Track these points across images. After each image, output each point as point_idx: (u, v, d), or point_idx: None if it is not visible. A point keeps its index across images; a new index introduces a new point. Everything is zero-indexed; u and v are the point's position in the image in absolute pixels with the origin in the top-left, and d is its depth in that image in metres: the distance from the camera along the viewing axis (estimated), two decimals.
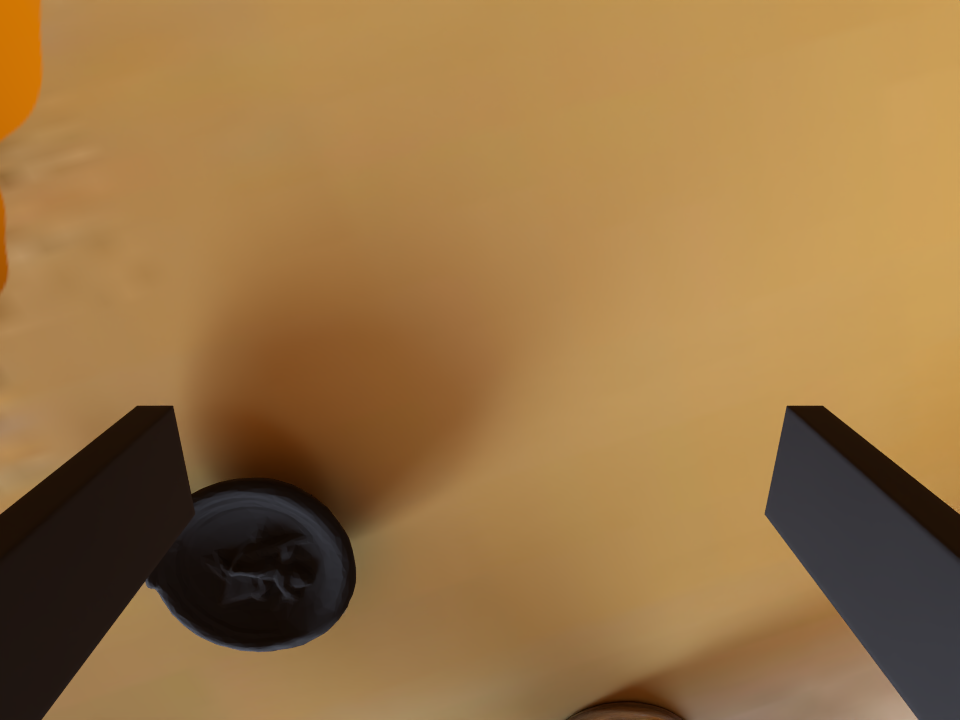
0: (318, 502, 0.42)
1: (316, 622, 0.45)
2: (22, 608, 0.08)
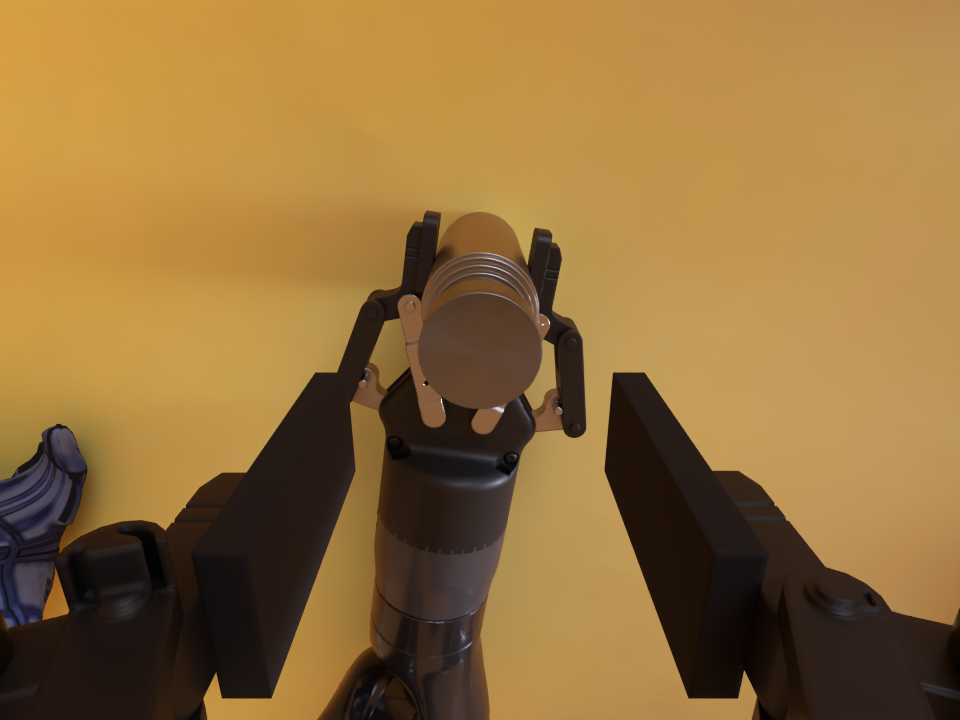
0: None
1: None
2: (292, 526, 0.10)
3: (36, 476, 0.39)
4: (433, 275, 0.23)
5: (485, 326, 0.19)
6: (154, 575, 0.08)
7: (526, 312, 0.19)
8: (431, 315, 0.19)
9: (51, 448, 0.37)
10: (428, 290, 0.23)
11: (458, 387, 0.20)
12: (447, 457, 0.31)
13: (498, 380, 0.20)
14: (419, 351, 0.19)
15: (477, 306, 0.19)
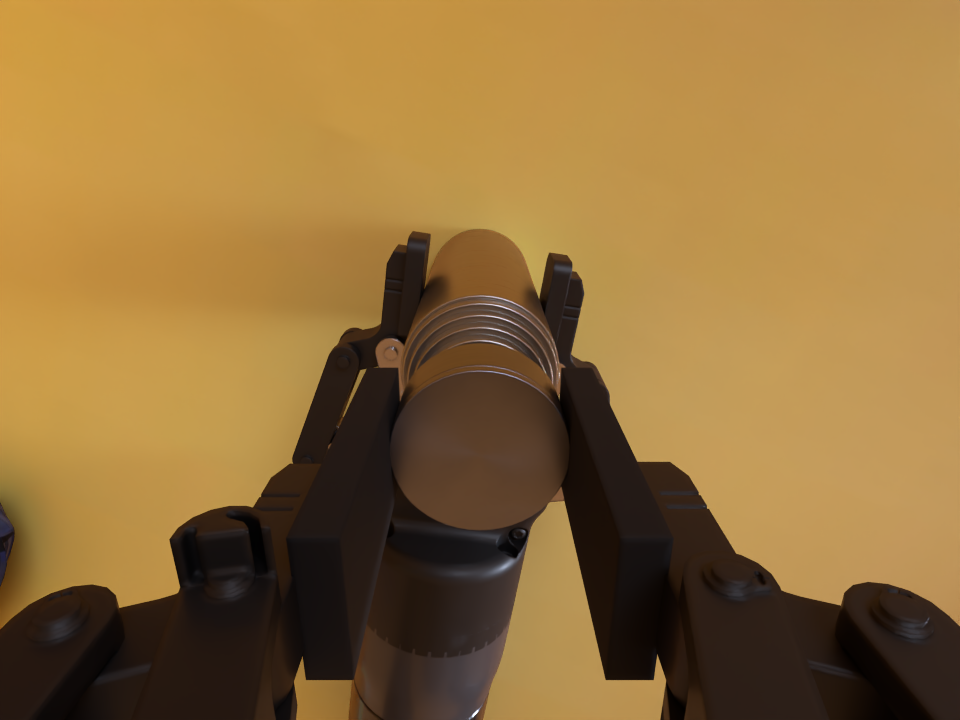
0: None
1: None
2: (366, 515, 0.10)
3: None
4: (416, 326, 0.17)
5: (487, 418, 0.13)
6: (256, 560, 0.08)
7: (548, 398, 0.13)
8: (408, 402, 0.13)
9: None
10: (409, 347, 0.17)
11: (448, 501, 0.14)
12: (440, 535, 0.25)
13: (506, 492, 0.13)
14: (391, 452, 0.13)
15: (476, 390, 0.13)
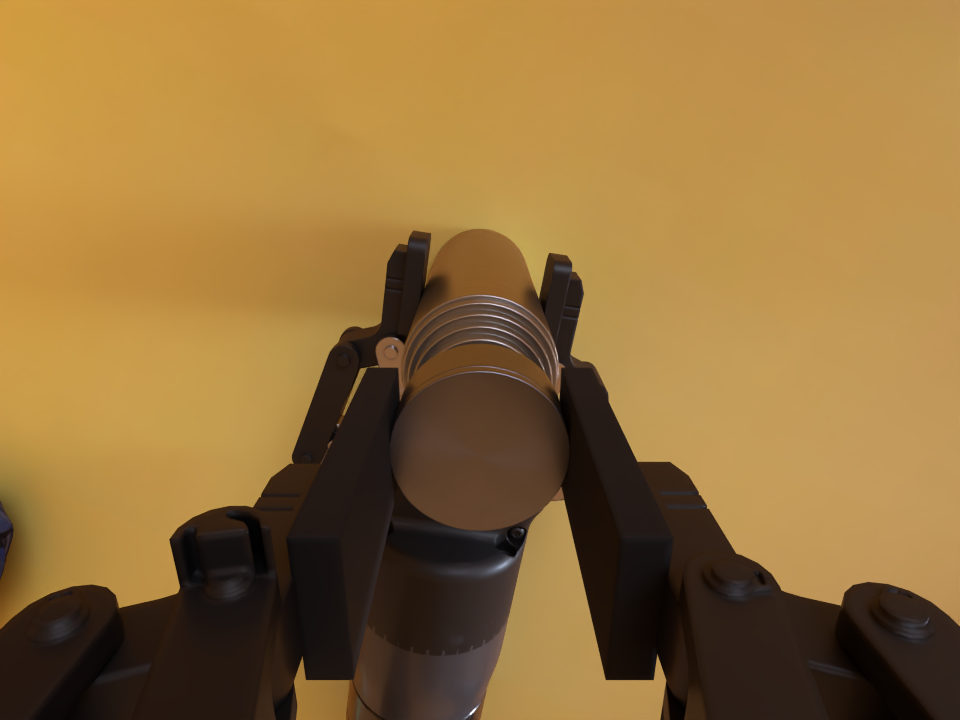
0: None
1: None
2: (366, 515, 0.10)
3: None
4: (417, 325, 0.17)
5: (438, 448, 0.13)
6: (256, 560, 0.08)
7: (416, 393, 0.13)
8: (424, 512, 0.14)
9: None
10: (410, 346, 0.17)
11: (533, 483, 0.13)
12: (438, 534, 0.25)
13: (524, 431, 0.13)
14: (476, 528, 0.14)
15: (409, 458, 0.13)
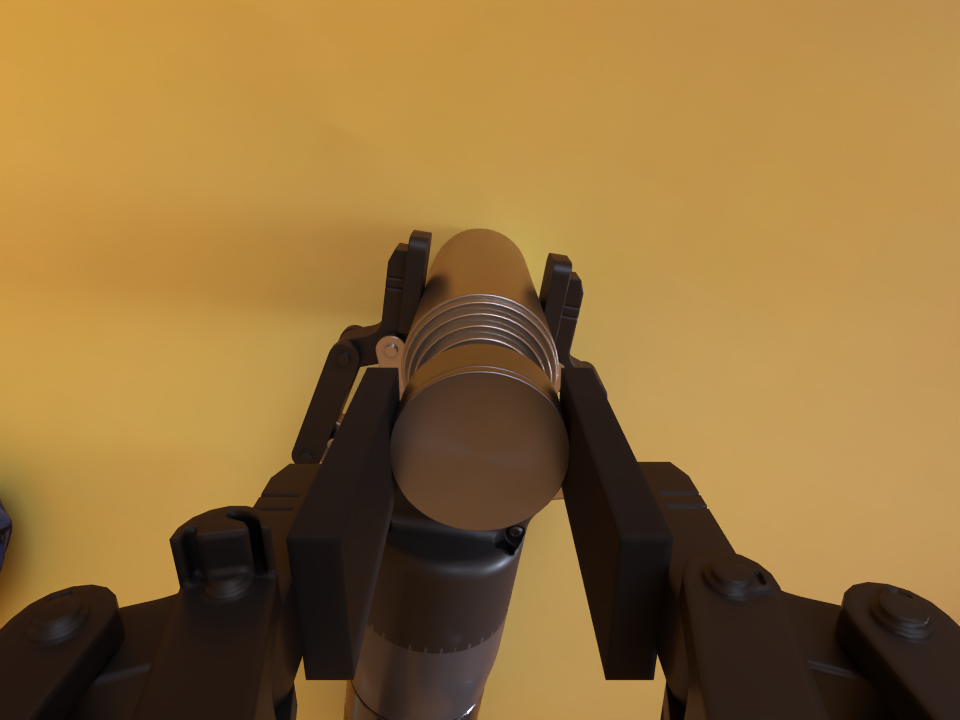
0: None
1: None
2: (366, 515, 0.10)
3: None
4: (417, 323, 0.17)
5: (471, 490, 0.13)
6: (256, 559, 0.08)
7: (414, 505, 0.14)
8: (545, 504, 0.14)
9: None
10: (410, 344, 0.17)
11: (514, 406, 0.13)
12: (437, 532, 0.25)
13: (452, 416, 0.13)
14: (567, 459, 0.13)
15: (481, 515, 0.14)
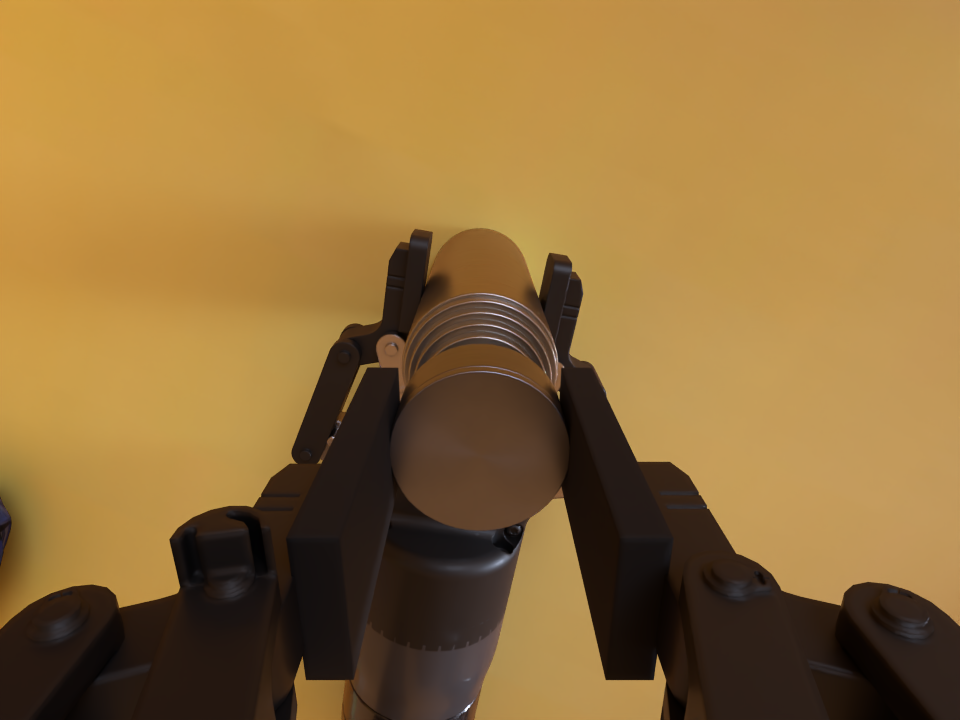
0: None
1: None
2: (366, 515, 0.10)
3: None
4: (418, 322, 0.17)
5: (520, 463, 0.13)
6: (256, 560, 0.08)
7: (536, 512, 0.14)
8: (541, 393, 0.13)
9: None
10: (411, 342, 0.17)
11: (425, 425, 0.13)
12: (436, 530, 0.26)
13: (436, 478, 0.13)
14: (485, 373, 0.12)
15: (550, 454, 0.13)
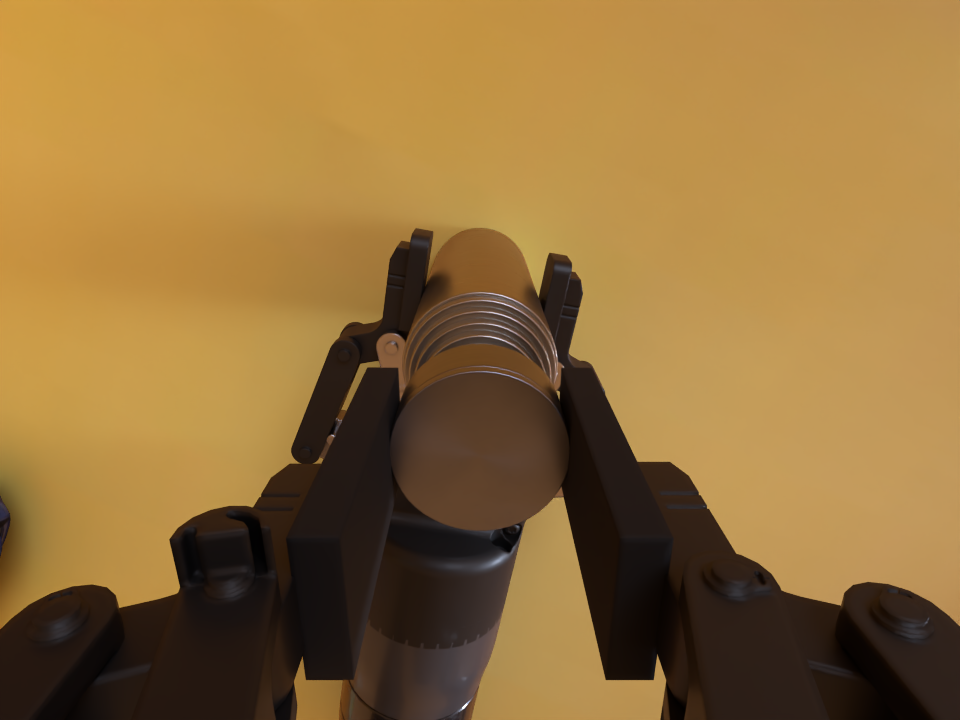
0: None
1: None
2: (366, 515, 0.10)
3: None
4: (419, 320, 0.17)
5: (489, 419, 0.13)
6: (256, 560, 0.08)
7: (551, 401, 0.13)
8: (410, 400, 0.13)
9: None
10: (412, 341, 0.17)
11: (446, 500, 0.14)
12: (435, 529, 0.26)
13: (504, 493, 0.13)
14: (391, 449, 0.13)
15: (479, 390, 0.13)
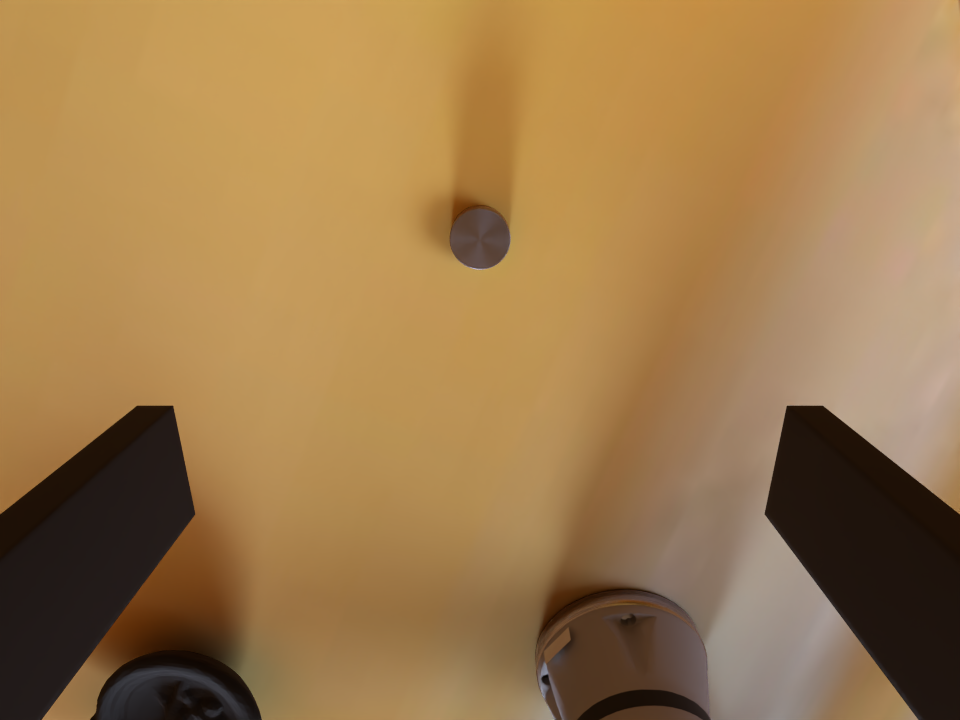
0: (161, 656, 0.50)
1: None
2: (22, 608, 0.08)
3: None
4: None
5: (466, 236, 0.39)
6: None
7: (460, 215, 0.39)
8: (460, 261, 0.40)
9: None
10: None
11: (497, 251, 0.40)
12: None
13: (495, 231, 0.39)
14: (477, 268, 0.40)
15: (456, 239, 0.40)
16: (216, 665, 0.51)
